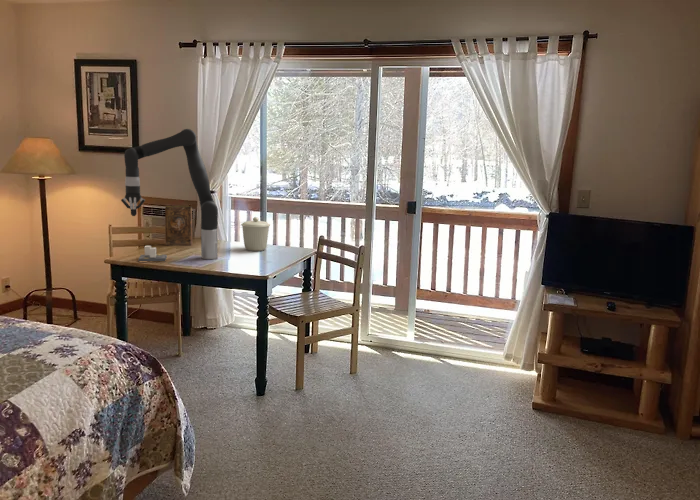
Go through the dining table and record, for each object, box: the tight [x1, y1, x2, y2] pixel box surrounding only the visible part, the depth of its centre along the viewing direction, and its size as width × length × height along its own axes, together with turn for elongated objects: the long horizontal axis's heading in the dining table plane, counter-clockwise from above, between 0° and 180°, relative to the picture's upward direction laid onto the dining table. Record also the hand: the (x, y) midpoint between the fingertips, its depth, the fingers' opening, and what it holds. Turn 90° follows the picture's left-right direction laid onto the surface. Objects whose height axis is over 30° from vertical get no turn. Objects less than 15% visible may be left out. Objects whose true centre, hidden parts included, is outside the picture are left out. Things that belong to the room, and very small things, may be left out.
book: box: [164, 205, 193, 247], centre depth 360 cm, size 16×6×25 cm, turn 105°
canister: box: [240, 216, 271, 252], centre depth 356 cm, size 18×18×21 cm
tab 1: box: [144, 245, 152, 256], centre depth 318 cm, size 3×4×5 cm
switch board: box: [138, 254, 168, 262], centre depth 317 cm, size 14×10×2 cm
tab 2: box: [150, 247, 157, 258], centre depth 314 cm, size 3×4×5 cm
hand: (133, 215), depth 313 cm, fingers closed
